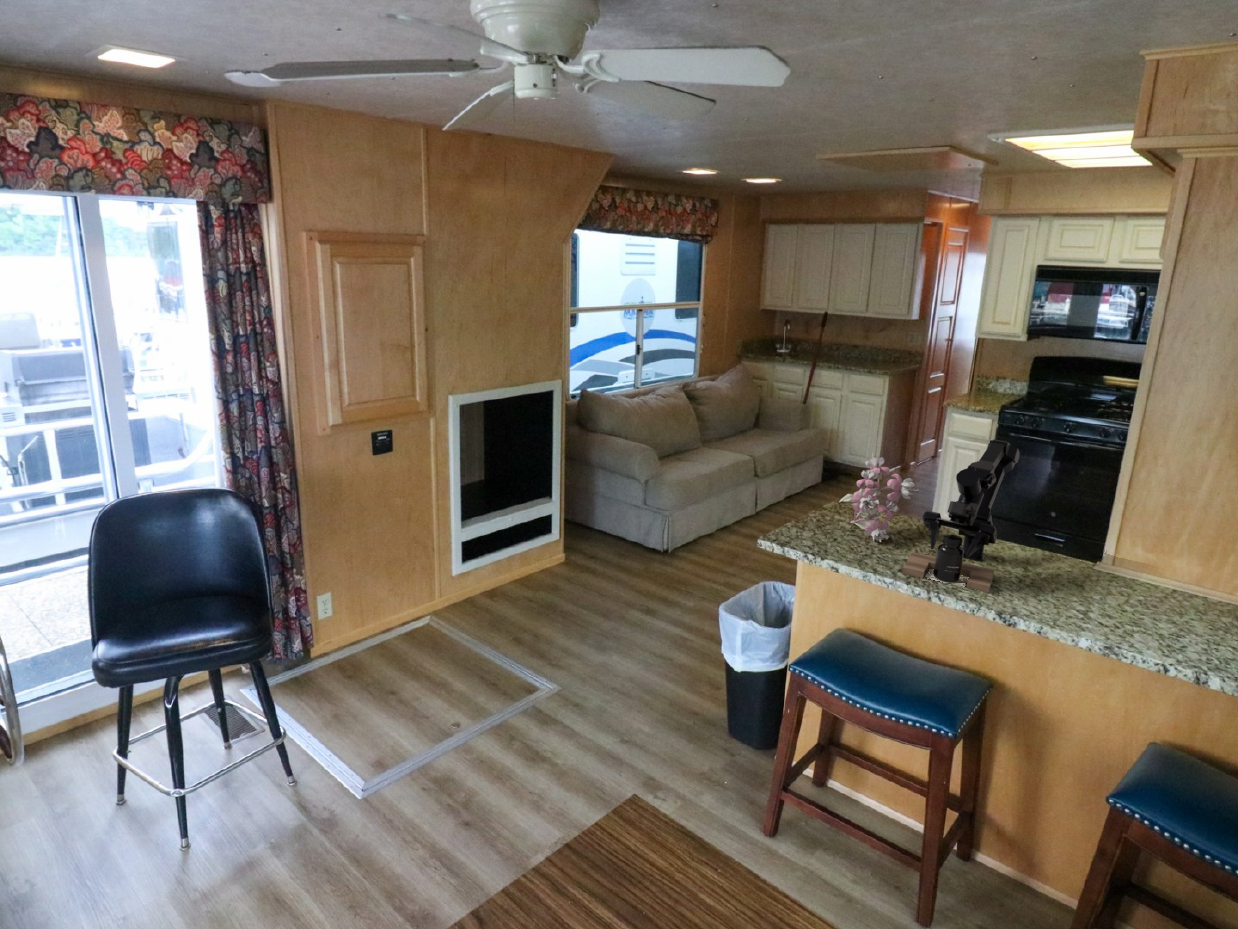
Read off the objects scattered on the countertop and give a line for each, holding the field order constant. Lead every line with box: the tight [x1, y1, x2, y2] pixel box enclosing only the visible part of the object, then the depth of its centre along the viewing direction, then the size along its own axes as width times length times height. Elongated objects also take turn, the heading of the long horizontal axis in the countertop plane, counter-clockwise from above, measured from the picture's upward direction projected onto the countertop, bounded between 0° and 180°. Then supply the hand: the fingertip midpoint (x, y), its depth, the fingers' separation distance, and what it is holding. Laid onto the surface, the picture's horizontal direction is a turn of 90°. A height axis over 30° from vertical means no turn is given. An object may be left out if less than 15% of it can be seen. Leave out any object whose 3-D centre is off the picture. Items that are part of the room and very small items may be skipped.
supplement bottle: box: [933, 533, 964, 582], centre depth 210 cm, size 7×7×12 cm
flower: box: [838, 452, 920, 543], centre depth 243 cm, size 20×22×25 cm
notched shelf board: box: [901, 551, 996, 594], centre depth 214 cm, size 14×22×2 cm, turn 60°
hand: (948, 552), depth 208 cm, fingers open, 9 cm apart
